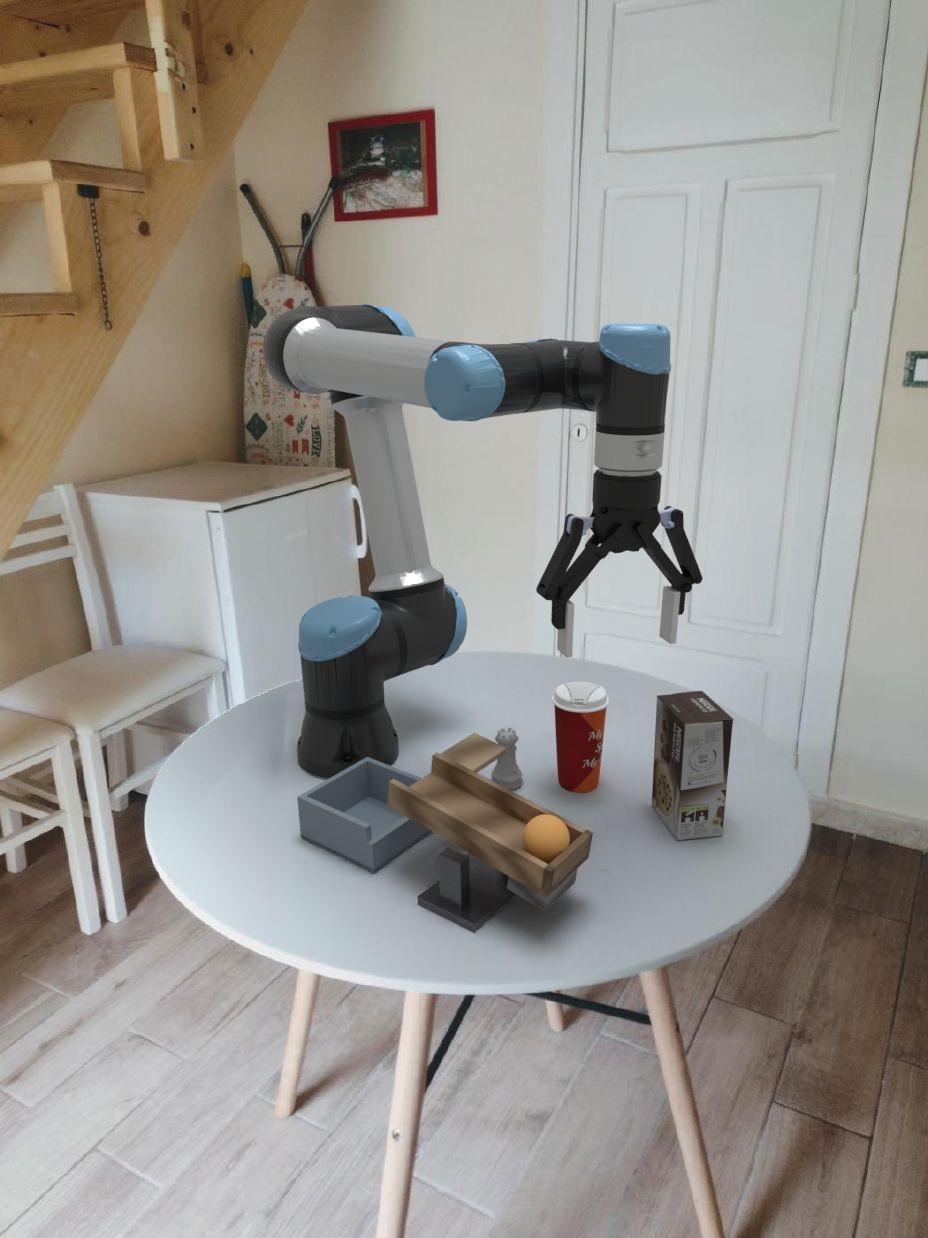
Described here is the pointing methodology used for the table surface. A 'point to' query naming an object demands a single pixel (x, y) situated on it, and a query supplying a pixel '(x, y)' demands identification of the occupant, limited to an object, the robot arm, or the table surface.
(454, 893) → the stand
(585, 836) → the chute
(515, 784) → the rook chess piece
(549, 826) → the ball
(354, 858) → the bin
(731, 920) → the table surface
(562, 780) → the paper cup
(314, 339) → the robot arm
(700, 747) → the coffee box
